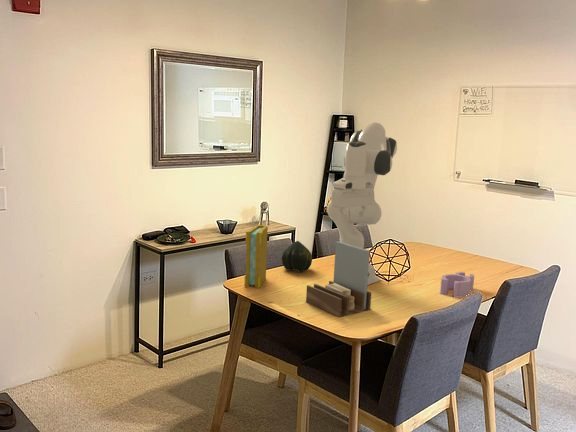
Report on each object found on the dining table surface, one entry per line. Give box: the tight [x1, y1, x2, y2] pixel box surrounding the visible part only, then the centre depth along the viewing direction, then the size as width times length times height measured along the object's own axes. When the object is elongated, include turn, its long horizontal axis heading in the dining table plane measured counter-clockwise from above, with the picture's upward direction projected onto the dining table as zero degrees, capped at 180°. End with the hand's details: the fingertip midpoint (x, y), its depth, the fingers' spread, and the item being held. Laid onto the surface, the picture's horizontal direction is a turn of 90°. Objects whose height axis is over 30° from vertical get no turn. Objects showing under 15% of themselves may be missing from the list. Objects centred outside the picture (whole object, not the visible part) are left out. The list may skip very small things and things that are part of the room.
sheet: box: [333, 240, 371, 309], centre depth 235 cm, size 2×18×24 cm, turn 37°
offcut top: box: [324, 283, 351, 297], centre depth 233 cm, size 5×10×2 cm, turn 34°
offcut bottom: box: [348, 303, 355, 311], centre depth 234 cm, size 5×14×2 cm, turn 37°
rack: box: [304, 280, 373, 319], centre depth 233 cm, size 18×21×8 cm
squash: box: [281, 240, 313, 273], centre depth 288 cm, size 14×15×15 cm
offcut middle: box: [348, 296, 355, 304], centre depth 233 cm, size 5×12×2 cm, turn 40°
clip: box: [439, 271, 475, 298], centre depth 264 cm, size 20×12×7 cm, turn 139°
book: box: [244, 224, 269, 288], centre depth 264 cm, size 17×7×25 cm, turn 168°
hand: (352, 217), depth 231 cm, fingers open, 8 cm apart
